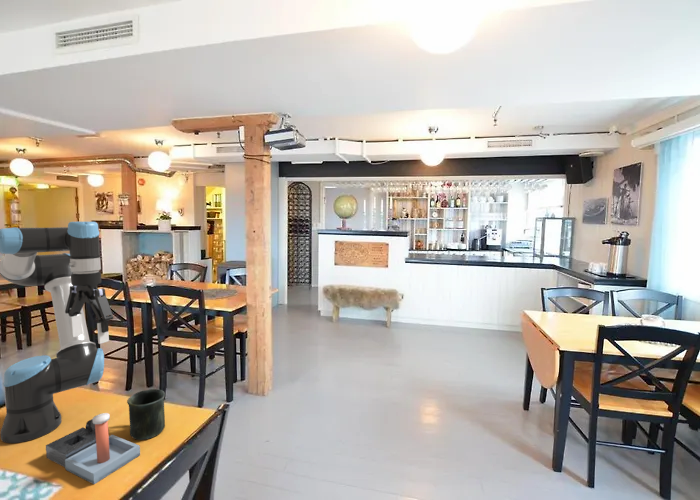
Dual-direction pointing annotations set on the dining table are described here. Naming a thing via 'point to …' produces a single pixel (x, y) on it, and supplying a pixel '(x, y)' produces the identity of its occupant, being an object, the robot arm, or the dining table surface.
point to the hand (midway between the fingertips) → (90, 339)
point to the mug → (146, 414)
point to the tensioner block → (71, 444)
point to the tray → (93, 471)
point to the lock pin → (102, 437)
